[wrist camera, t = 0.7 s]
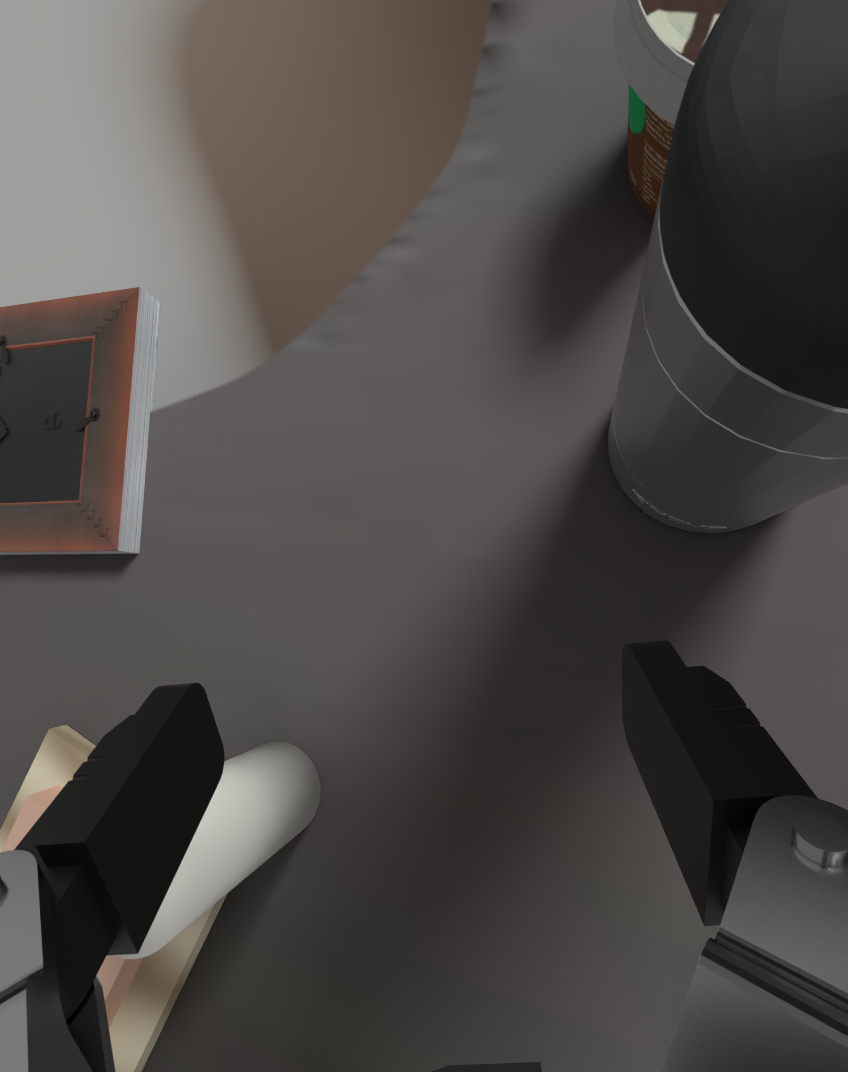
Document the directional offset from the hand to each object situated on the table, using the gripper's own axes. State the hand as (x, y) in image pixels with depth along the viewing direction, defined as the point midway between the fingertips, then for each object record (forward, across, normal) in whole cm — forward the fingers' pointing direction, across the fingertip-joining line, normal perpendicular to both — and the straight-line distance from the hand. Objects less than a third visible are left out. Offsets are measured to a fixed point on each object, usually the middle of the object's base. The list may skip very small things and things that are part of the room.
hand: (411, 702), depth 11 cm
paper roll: (+14, +10, +16) cm, 24 cm away
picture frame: (+29, +28, -2) cm, 41 cm away
